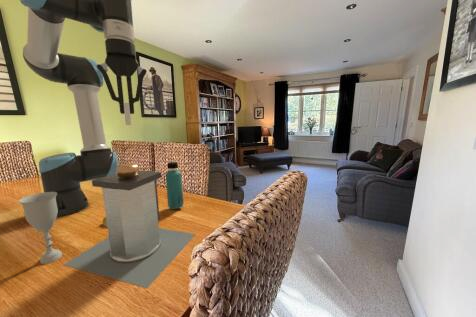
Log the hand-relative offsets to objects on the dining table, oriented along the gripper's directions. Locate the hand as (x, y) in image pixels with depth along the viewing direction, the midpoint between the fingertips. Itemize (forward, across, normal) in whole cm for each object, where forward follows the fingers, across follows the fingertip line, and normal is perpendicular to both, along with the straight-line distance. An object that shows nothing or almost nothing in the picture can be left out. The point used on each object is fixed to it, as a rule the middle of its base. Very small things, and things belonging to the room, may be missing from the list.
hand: (128, 124), depth 63 cm
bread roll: (+36, -7, +9) cm, 38 cm away
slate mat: (+35, -1, -13) cm, 38 cm away
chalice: (+36, -21, -7) cm, 42 cm away
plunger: (+33, -1, -13) cm, 35 cm away
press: (+35, 0, -12) cm, 37 cm away
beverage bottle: (+36, +14, +10) cm, 40 cm away
